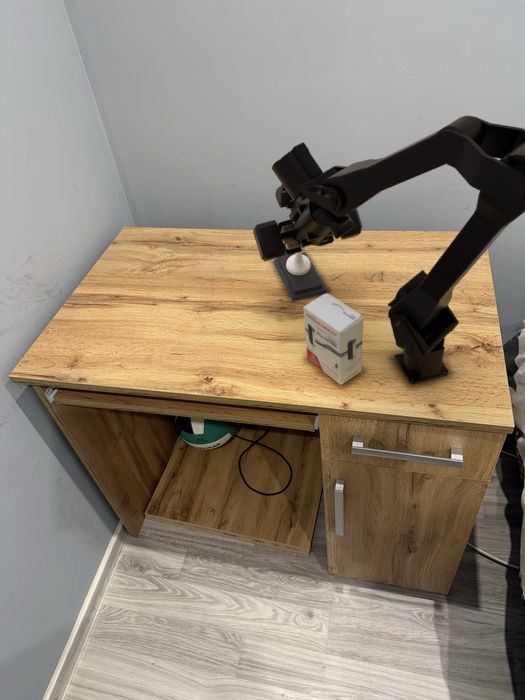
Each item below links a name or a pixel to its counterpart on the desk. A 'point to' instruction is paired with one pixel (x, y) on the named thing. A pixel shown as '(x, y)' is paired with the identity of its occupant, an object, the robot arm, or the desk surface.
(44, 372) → the desk surface
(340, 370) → the ink box
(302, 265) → the chess piece
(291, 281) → the scrub brush
